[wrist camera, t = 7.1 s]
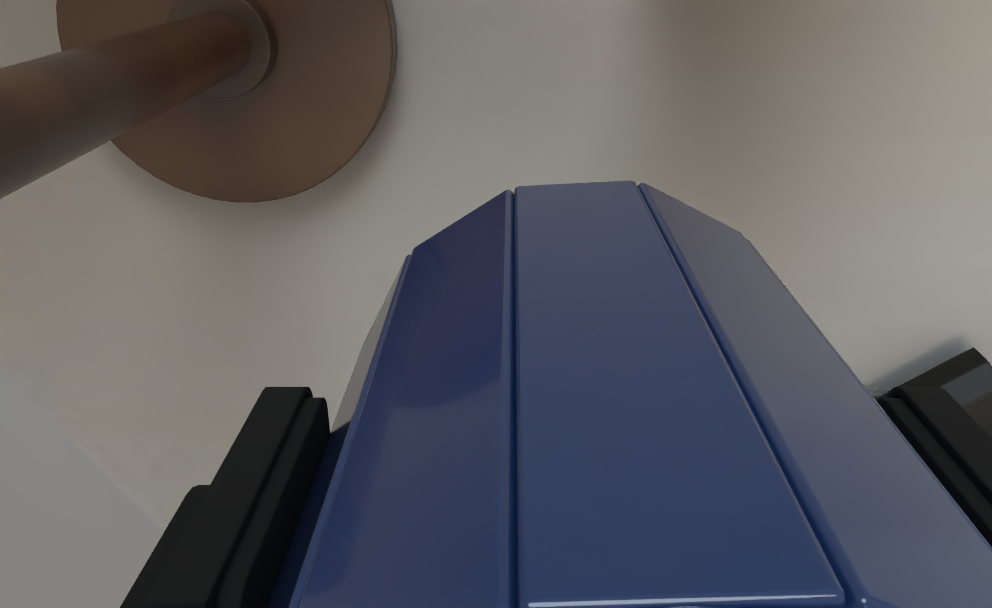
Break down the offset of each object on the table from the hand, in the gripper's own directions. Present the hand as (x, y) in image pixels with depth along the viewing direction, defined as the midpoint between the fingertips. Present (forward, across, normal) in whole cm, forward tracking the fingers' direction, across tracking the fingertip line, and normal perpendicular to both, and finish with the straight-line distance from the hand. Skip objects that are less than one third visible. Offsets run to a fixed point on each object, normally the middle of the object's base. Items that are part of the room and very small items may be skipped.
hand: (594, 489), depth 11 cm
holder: (+26, +12, -3) cm, 29 cm away
